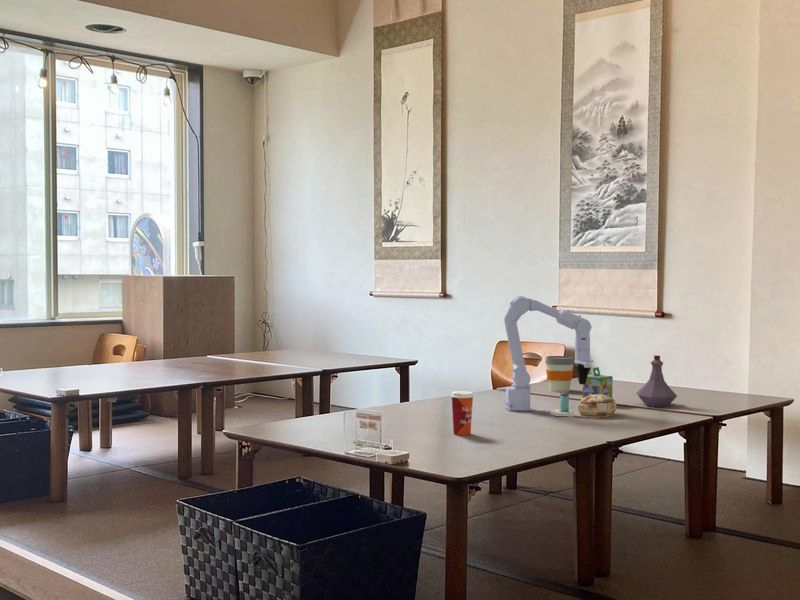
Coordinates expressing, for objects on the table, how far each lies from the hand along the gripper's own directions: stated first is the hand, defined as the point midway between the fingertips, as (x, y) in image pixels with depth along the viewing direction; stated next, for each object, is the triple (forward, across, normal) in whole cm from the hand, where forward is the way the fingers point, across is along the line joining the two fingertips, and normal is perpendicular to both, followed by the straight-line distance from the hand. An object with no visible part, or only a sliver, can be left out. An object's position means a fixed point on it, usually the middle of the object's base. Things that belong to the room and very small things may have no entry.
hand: (582, 384), depth 356 cm
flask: (+11, +11, -33) cm, 37 cm away
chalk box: (+10, +15, -10) cm, 21 cm away
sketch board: (+10, -10, +11) cm, 18 cm away
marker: (+9, -10, +10) cm, 17 cm away
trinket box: (+10, -12, -2) cm, 16 cm away
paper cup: (+10, -46, +54) cm, 72 cm away
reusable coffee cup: (+10, +54, -4) cm, 55 cm away
